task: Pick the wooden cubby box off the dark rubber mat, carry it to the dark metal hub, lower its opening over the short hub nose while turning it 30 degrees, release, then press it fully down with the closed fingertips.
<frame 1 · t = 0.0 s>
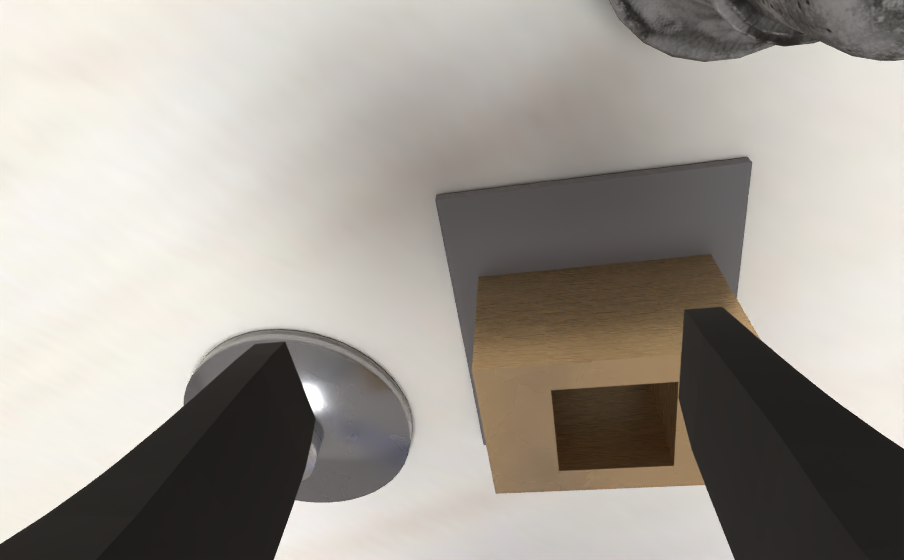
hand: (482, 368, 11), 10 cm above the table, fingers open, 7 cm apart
wooden cubby box: (594, 328, 22), resting on mat
hub: (302, 417, 27), on the table
mat: (592, 322, 22), on the table
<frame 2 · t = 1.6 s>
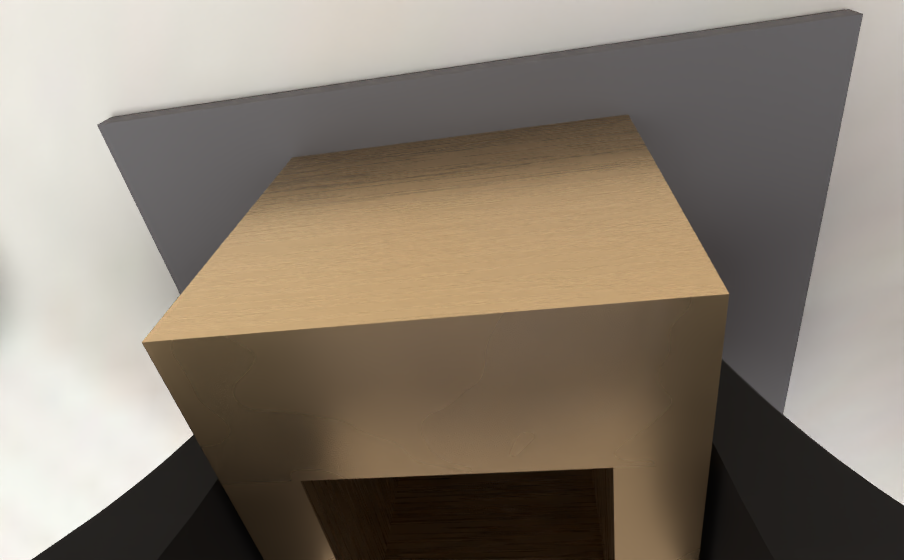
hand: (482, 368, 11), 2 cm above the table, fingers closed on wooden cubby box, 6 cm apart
wooden cubby box: (483, 328, 12), resting on mat, touching gripper
mat: (484, 316, 12), on the table
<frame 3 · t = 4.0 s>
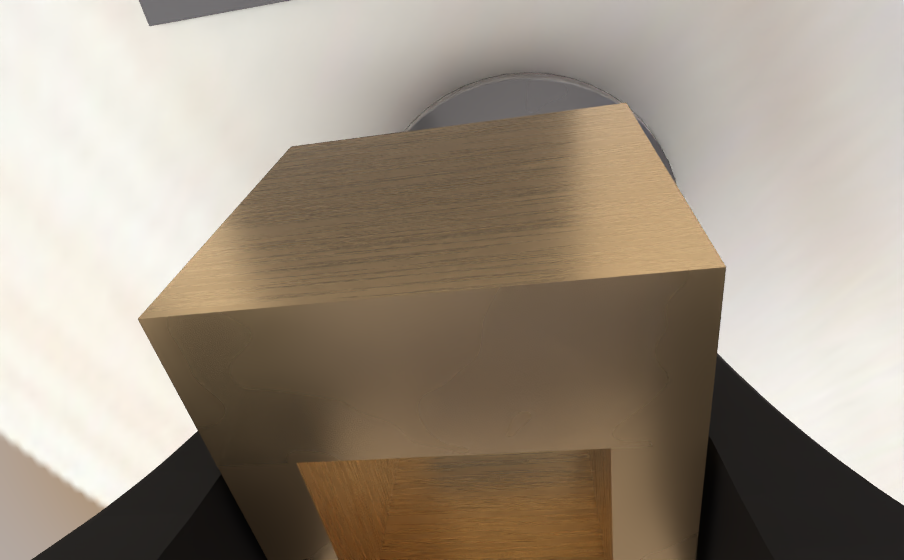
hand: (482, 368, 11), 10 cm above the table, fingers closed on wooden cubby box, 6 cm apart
wooden cubby box: (482, 320, 12), point 9 cm above the table, touching gripper
hub: (521, 222, 20), on the table
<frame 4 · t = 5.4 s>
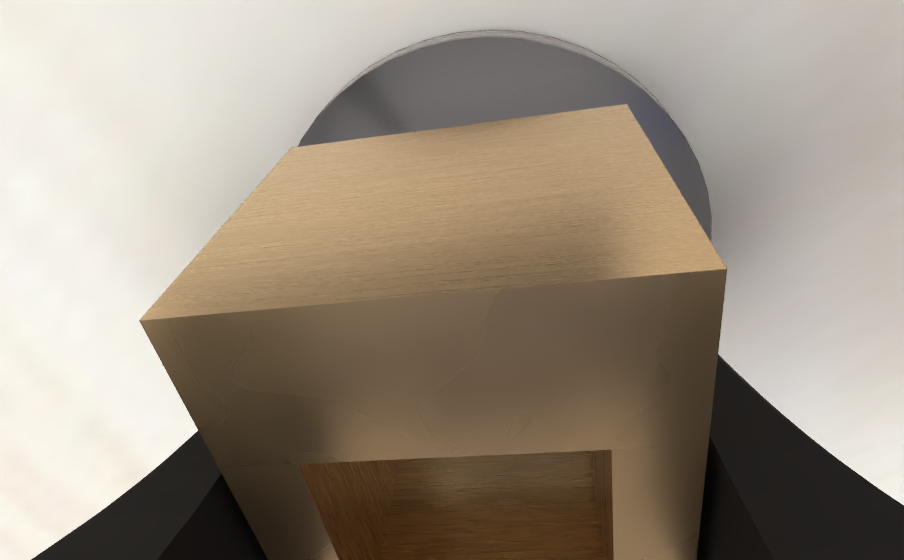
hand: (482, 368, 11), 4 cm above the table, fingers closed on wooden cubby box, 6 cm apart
wooden cubby box: (482, 321, 12), point 3 cm above the table, touching gripper
hub: (488, 246, 15), on the table
when the fingers open (3 cm above the table, at t = 6.2 s): wooden cubby box stays where it is, resting on hub.
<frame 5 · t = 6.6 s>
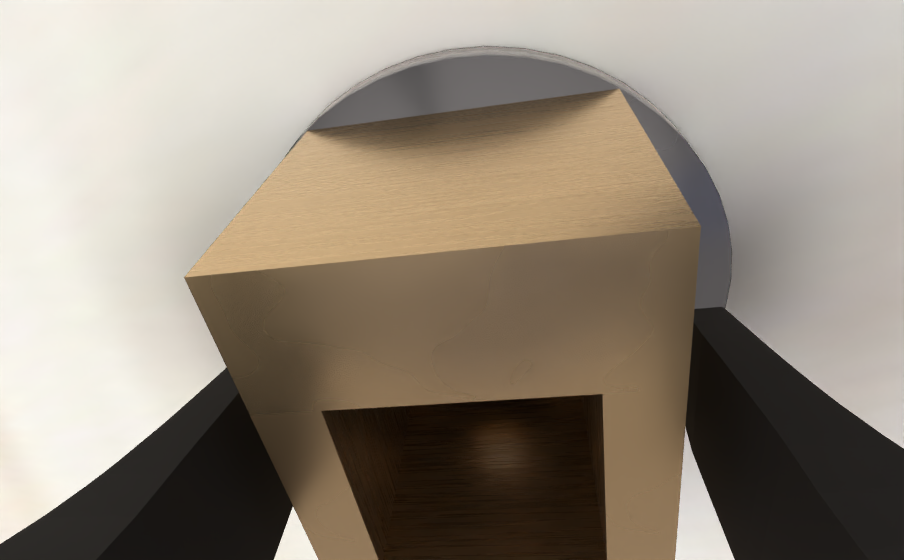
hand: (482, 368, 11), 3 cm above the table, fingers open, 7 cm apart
wooden cubby box: (485, 295, 13), point 1 cm above the table, touching hub
hub: (486, 279, 13), on the table
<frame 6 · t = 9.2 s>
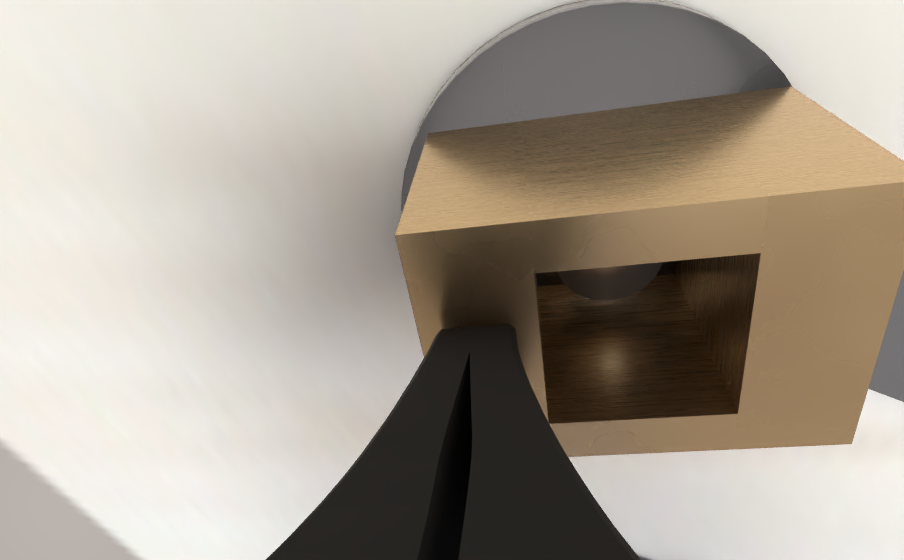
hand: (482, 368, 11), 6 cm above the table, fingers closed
wooden cubby box: (603, 220, 15), point 1 cm above the table, touching hub
hub: (594, 206, 15), on the table
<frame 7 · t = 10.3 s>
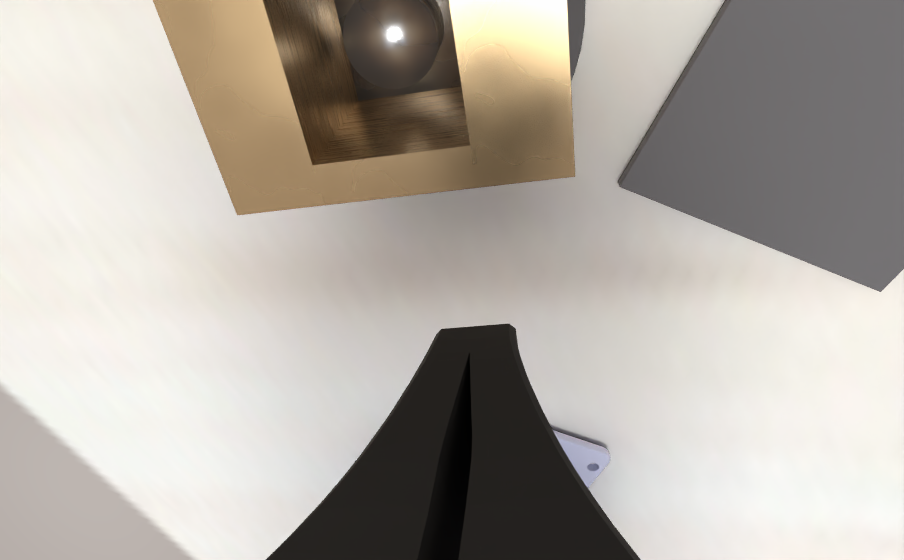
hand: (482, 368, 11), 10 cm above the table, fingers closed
wooden cubby box: (405, 27, 16), point 1 cm above the table, touching hub
hub: (405, 21, 17), on the table
mat: (884, 63, 17), on the table
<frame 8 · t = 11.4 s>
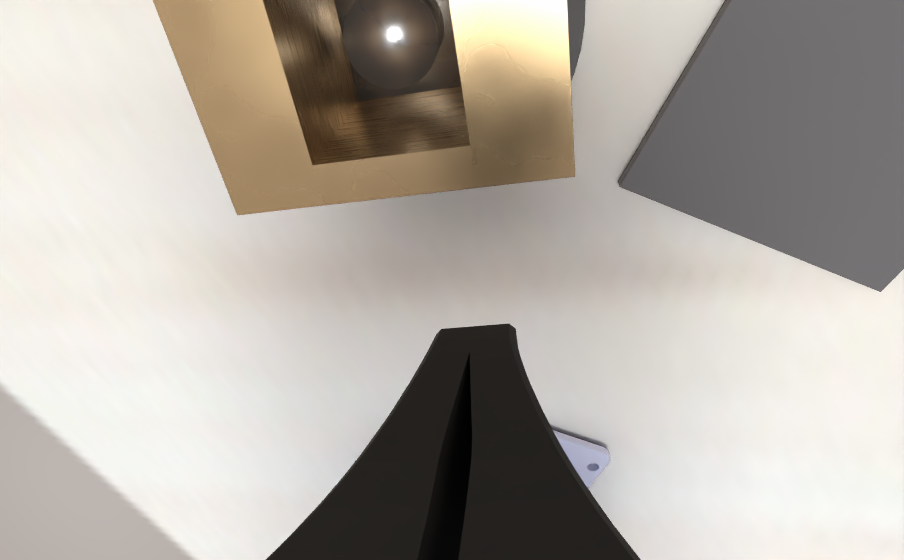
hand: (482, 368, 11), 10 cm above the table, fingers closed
wooden cubby box: (405, 27, 16), point 1 cm above the table, touching hub
hub: (405, 21, 17), on the table
mat: (884, 63, 17), on the table
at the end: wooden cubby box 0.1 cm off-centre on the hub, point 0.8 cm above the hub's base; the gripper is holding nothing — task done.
